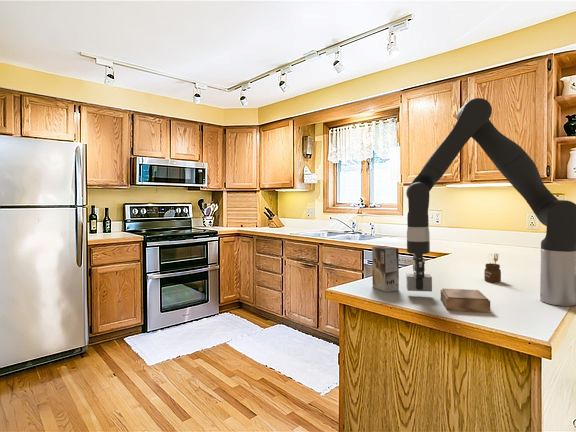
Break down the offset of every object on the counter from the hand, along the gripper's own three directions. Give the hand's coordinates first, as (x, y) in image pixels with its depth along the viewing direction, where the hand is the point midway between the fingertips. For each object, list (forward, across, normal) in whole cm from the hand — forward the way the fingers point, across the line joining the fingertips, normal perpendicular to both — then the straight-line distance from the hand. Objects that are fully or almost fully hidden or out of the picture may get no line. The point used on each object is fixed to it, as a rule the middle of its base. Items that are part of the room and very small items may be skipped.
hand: (418, 287), depth 125 cm
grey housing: (+1, 0, 0) cm, 1 cm away
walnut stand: (+3, -9, -13) cm, 16 cm away
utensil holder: (+4, +30, -32) cm, 44 cm away
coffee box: (+3, +9, +11) cm, 15 cm away
